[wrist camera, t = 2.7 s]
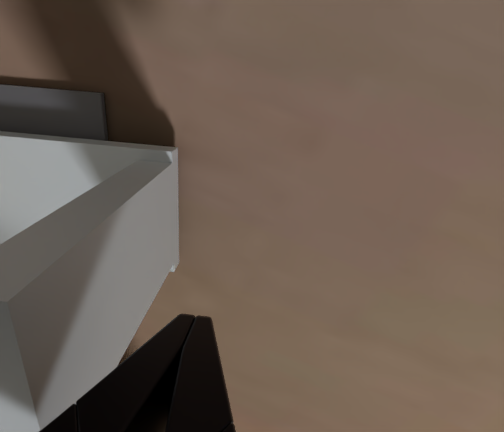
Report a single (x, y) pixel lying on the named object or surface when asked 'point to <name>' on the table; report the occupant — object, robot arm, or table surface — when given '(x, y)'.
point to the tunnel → (53, 112)
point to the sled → (77, 263)
